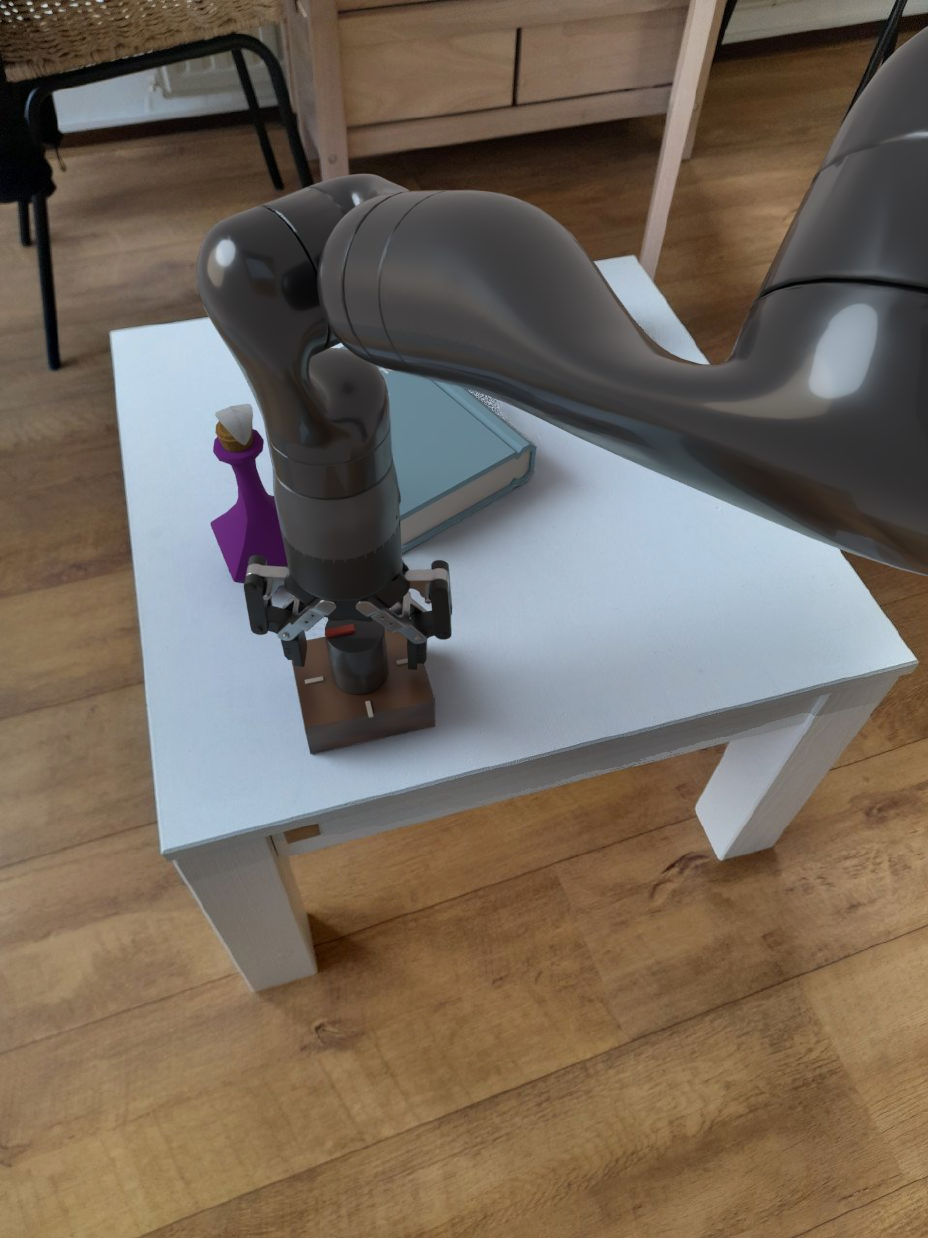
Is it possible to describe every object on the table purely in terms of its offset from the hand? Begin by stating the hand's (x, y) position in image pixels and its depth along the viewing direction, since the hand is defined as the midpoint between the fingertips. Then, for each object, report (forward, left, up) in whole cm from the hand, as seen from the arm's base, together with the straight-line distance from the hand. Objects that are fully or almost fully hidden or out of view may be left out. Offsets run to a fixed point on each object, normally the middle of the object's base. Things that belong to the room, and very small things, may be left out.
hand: (357, 658), depth 70 cm
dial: (0, 0, -2) cm, 2 cm away
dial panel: (0, 0, -6) cm, 6 cm away
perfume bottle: (+14, -10, -6) cm, 18 cm away
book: (+9, -28, -6) cm, 30 cm away
